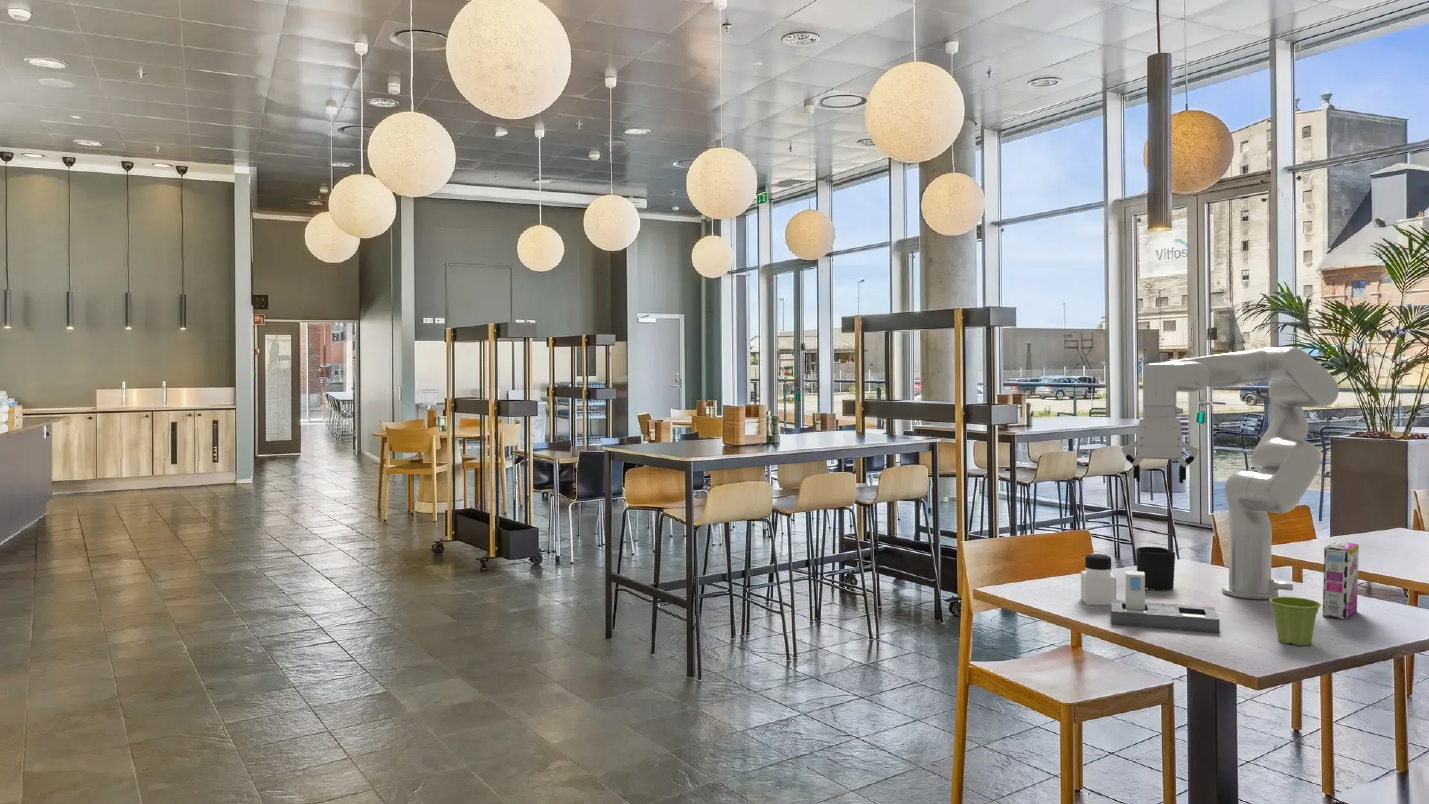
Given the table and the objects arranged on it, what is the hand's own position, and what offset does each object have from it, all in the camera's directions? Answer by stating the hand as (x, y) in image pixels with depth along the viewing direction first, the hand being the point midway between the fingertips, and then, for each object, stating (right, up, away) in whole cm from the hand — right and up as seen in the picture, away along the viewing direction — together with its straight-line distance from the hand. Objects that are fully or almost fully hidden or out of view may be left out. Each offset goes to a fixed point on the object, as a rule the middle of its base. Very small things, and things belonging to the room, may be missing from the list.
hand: (1159, 482), depth 237 cm
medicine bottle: (-14, -31, +4) cm, 34 cm away
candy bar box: (+38, -30, -11) cm, 50 cm away
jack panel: (-6, -31, -16) cm, 35 cm away
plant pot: (+14, -32, -32) cm, 47 cm away
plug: (-12, -31, -13) cm, 36 cm away
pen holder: (+8, -30, +19) cm, 36 cm away
